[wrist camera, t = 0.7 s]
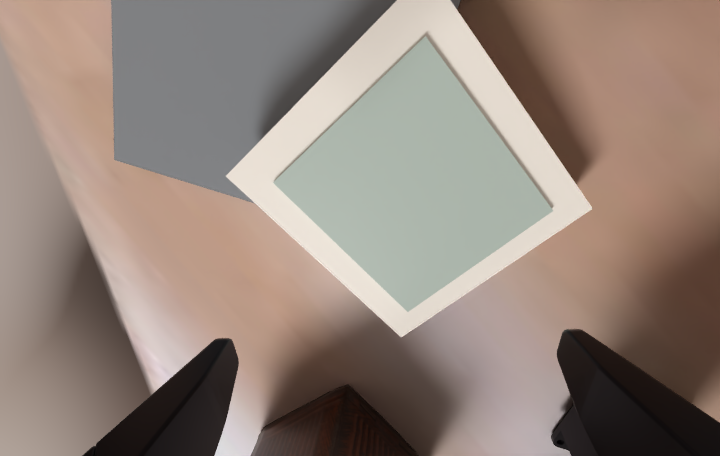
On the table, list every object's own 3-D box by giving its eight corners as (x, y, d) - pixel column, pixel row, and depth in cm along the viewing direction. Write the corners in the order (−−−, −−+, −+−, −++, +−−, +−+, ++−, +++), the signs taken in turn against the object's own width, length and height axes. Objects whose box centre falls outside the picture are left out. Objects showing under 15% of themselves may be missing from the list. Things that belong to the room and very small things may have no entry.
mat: (506, -145, 15) (511, -157, 14) (382, 237, 22) (381, 242, 21) (121, -247, 15) (106, -264, 14) (124, 157, 22) (114, 159, 22)
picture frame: (418, -18, 16) (565, 192, 19) (242, 163, 19) (397, 310, 23) (429, -34, 13) (595, 210, 17) (223, 177, 16) (401, 339, 20)
